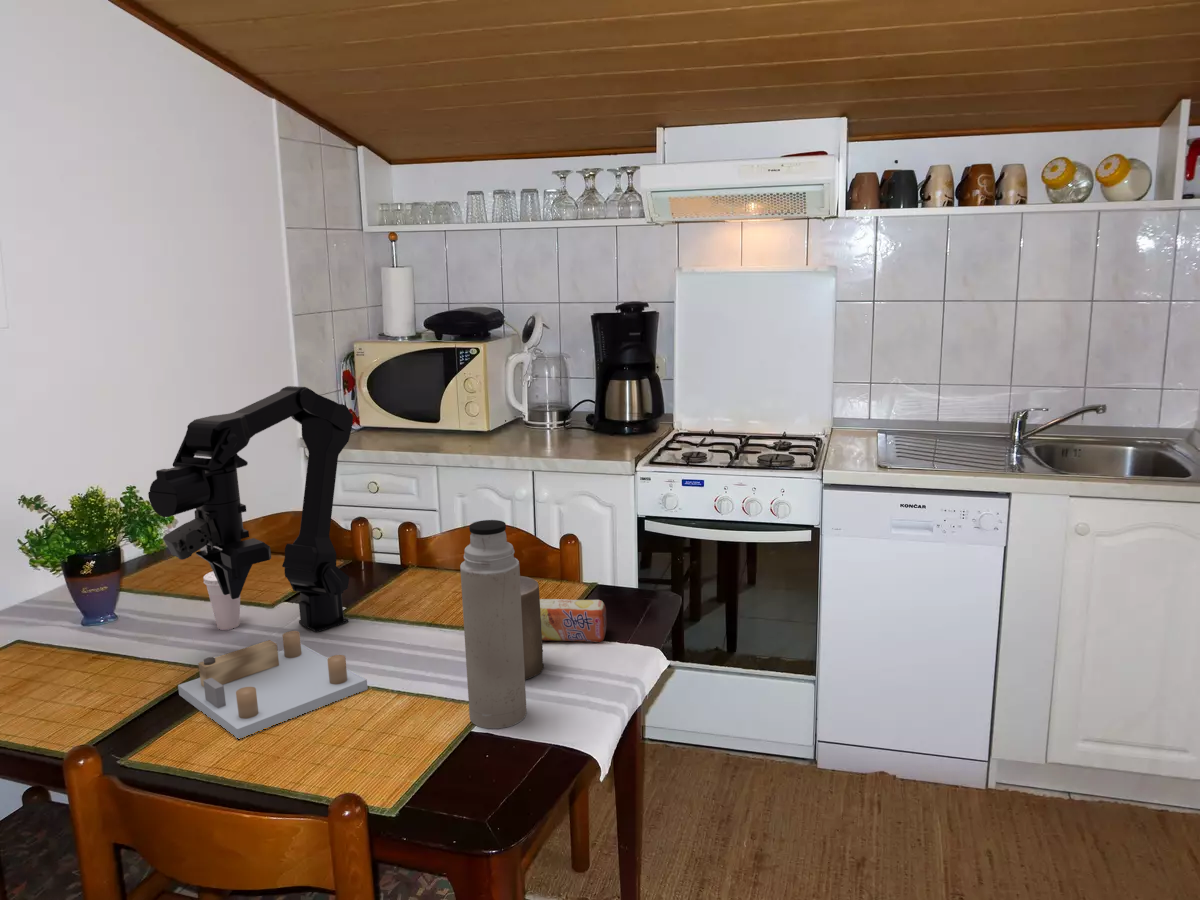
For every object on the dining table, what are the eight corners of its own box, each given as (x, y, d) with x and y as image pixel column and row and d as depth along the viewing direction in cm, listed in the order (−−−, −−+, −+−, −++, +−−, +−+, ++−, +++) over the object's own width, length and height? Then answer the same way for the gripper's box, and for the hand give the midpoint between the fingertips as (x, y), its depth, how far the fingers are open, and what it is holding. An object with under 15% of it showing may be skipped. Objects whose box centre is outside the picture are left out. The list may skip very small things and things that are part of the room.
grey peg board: (302, 652, 155) (299, 623, 154) (367, 689, 141) (364, 657, 140) (179, 695, 141) (175, 663, 140) (238, 740, 127) (234, 705, 126)
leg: (207, 689, 139) (204, 664, 138) (201, 684, 140) (197, 659, 139) (279, 665, 146) (276, 641, 146) (271, 660, 148) (269, 636, 147)
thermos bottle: (484, 698, 137) (474, 513, 131) (535, 705, 134) (526, 517, 129) (459, 724, 130) (446, 529, 124) (512, 732, 127) (502, 533, 121)
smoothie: (234, 634, 164) (225, 557, 161) (201, 632, 165) (192, 555, 162) (254, 620, 170) (246, 545, 167) (222, 618, 171) (214, 544, 168)
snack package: (607, 630, 161) (606, 593, 160) (604, 646, 154) (603, 607, 153) (485, 629, 163) (483, 592, 162) (477, 645, 157) (475, 606, 155)
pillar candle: (552, 658, 150) (547, 569, 147) (531, 685, 141) (525, 590, 138) (495, 654, 152) (489, 566, 149) (471, 680, 143) (464, 586, 140)
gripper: (142, 500, 145) (155, 596, 148) (192, 522, 132) (205, 626, 135) (213, 487, 153) (224, 578, 156) (267, 506, 140) (277, 605, 143)
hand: (231, 596), depth 147 cm, fingers open, 3 cm apart
